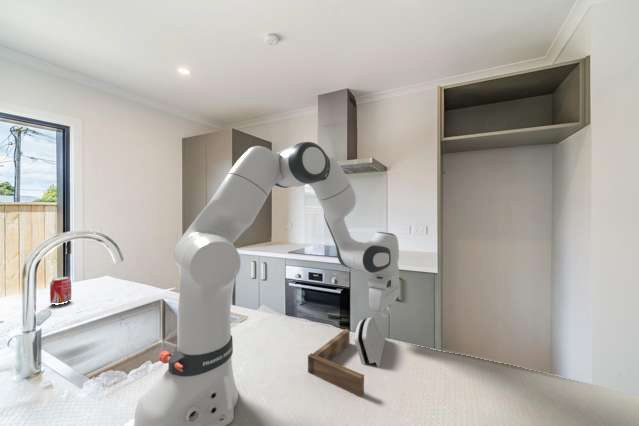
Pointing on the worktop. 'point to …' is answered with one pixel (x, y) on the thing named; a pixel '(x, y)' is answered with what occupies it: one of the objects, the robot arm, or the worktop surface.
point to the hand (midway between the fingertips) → (386, 315)
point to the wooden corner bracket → (336, 365)
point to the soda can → (60, 290)
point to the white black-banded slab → (369, 341)
